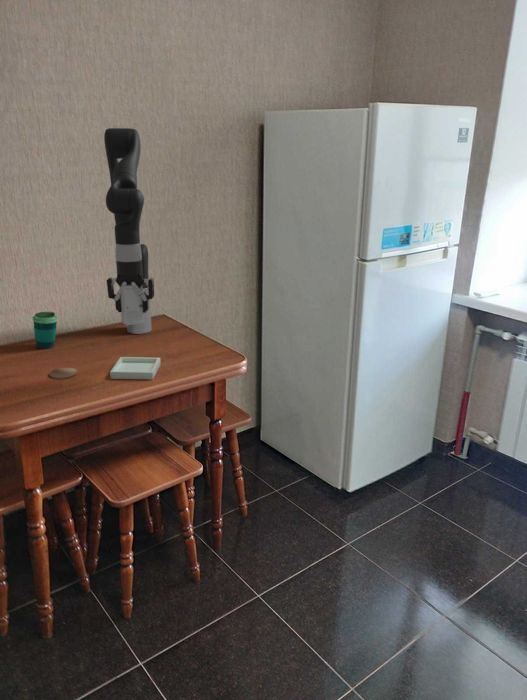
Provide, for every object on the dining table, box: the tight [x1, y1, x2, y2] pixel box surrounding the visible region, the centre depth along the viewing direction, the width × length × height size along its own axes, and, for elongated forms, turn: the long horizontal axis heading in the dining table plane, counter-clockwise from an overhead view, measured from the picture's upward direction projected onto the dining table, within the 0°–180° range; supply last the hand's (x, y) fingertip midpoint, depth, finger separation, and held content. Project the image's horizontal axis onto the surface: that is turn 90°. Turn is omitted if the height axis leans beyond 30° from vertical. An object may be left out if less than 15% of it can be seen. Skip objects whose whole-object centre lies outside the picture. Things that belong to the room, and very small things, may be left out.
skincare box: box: [118, 285, 144, 326], centre depth 173 cm, size 6×4×12 cm
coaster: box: [49, 367, 78, 380], centre depth 177 cm, size 8×8×1 cm
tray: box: [109, 356, 162, 380], centre depth 180 cm, size 13×13×2 cm
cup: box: [32, 311, 58, 350], centre depth 199 cm, size 8×8×12 cm
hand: (132, 311), depth 174 cm, fingers closed on skincare box, 7 cm apart
